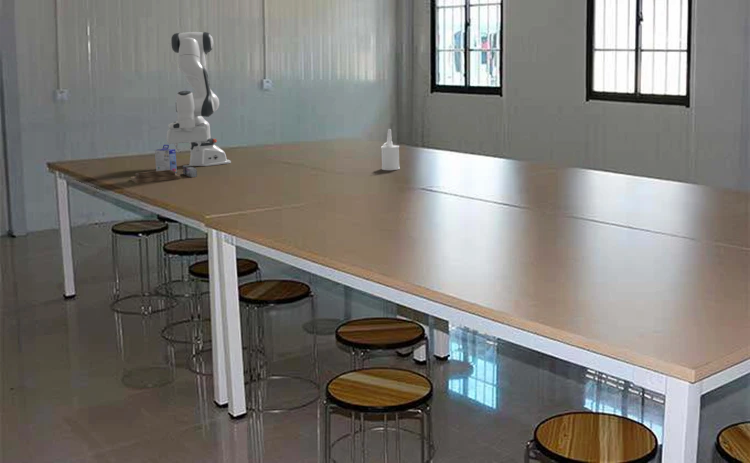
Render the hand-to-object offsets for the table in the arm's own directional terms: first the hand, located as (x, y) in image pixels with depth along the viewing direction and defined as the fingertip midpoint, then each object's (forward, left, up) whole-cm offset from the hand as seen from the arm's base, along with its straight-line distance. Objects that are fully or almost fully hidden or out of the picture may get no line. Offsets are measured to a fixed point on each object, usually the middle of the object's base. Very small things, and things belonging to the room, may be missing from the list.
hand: (188, 151), depth 455 cm
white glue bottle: (-90, +46, -12) cm, 102 cm away
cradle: (+18, +2, -12) cm, 22 cm away
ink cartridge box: (+8, -17, -12) cm, 23 cm away
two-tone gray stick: (0, 0, -12) cm, 12 cm away
